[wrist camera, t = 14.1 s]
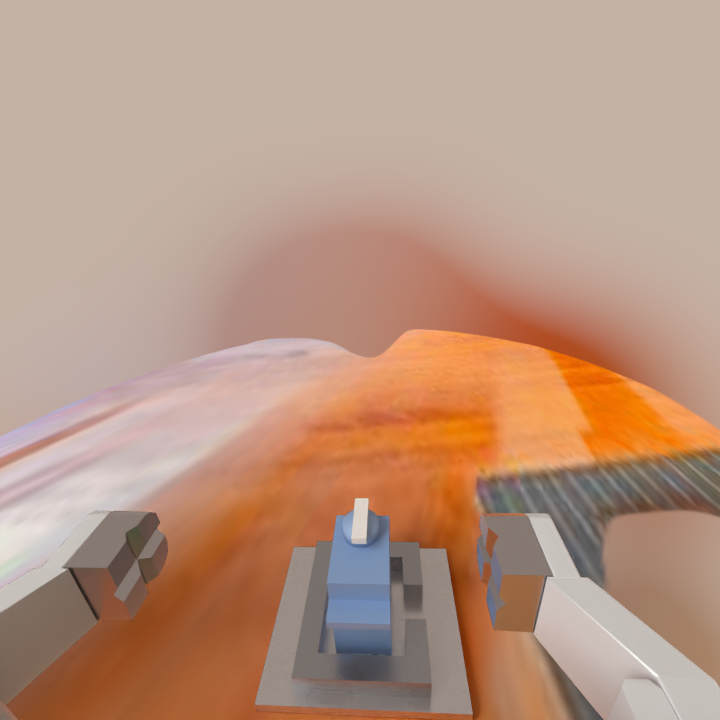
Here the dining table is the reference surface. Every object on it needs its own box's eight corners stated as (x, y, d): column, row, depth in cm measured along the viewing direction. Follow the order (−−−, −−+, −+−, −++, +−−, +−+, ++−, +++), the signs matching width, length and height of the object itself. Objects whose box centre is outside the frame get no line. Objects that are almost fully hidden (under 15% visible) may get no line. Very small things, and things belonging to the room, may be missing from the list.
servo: (333, 675, 26) (320, 589, 23) (345, 565, 34) (337, 486, 30) (392, 678, 26) (389, 590, 22) (390, 566, 34) (388, 486, 30)
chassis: (256, 711, 26) (249, 690, 24) (295, 552, 36) (291, 533, 35) (472, 721, 24) (474, 699, 23) (445, 554, 35) (446, 535, 34)
